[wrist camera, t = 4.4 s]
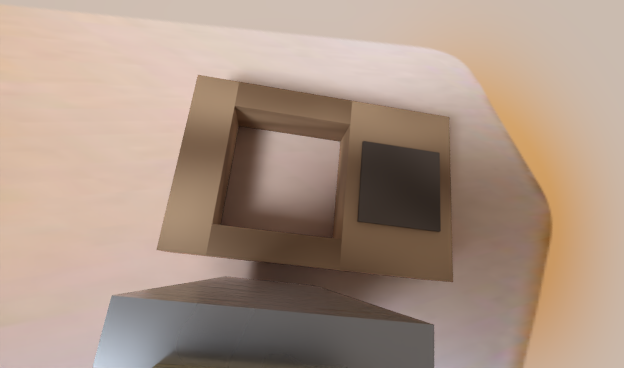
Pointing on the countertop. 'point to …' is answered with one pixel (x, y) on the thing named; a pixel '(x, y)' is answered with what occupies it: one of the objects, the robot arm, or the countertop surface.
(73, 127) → the countertop surface
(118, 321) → the grey tall block
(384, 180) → the plate with square hole
